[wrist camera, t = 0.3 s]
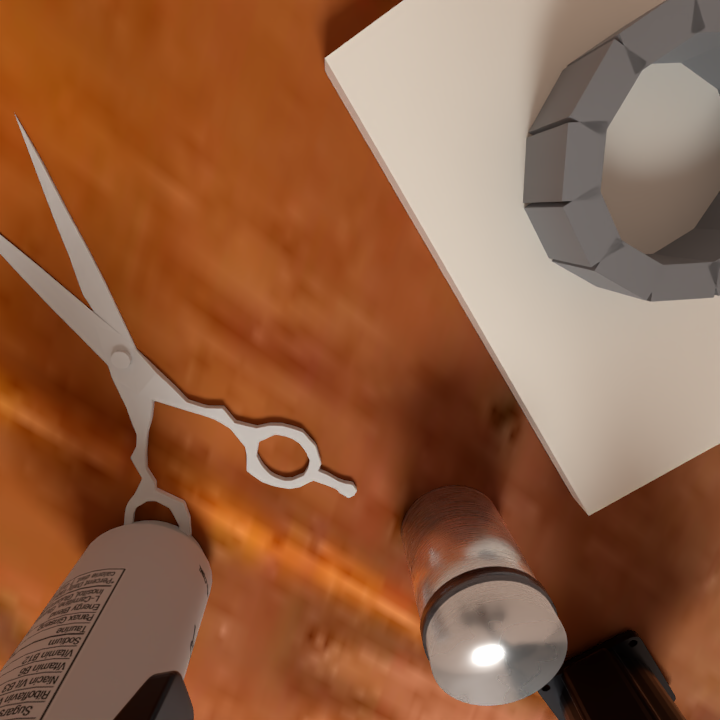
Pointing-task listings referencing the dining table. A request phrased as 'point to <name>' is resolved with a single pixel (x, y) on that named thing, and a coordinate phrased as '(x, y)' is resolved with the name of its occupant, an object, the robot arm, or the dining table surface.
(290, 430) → the scissors
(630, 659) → the robot arm
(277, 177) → the dining table surface
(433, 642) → the piston
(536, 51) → the plate
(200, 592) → the energy drink can
